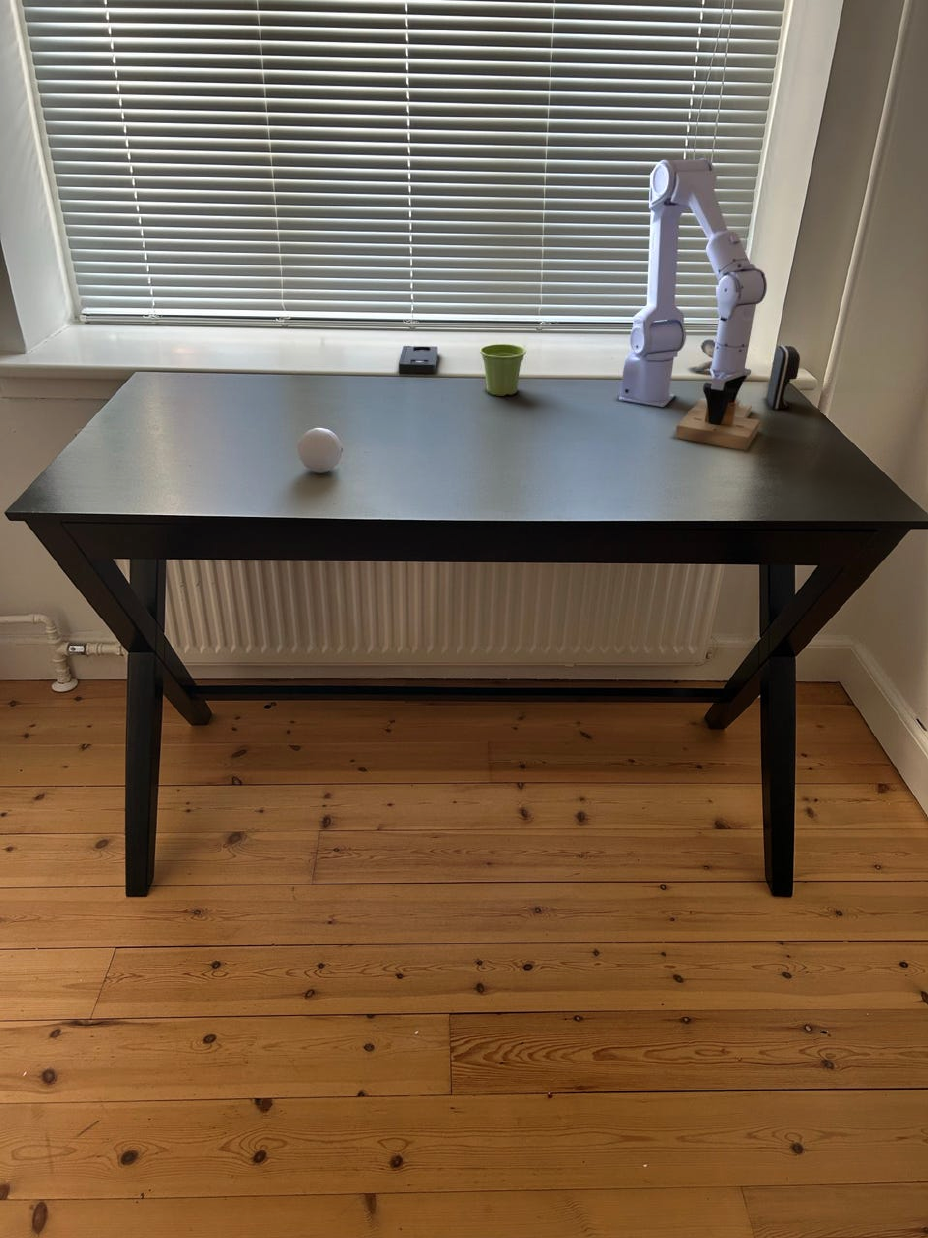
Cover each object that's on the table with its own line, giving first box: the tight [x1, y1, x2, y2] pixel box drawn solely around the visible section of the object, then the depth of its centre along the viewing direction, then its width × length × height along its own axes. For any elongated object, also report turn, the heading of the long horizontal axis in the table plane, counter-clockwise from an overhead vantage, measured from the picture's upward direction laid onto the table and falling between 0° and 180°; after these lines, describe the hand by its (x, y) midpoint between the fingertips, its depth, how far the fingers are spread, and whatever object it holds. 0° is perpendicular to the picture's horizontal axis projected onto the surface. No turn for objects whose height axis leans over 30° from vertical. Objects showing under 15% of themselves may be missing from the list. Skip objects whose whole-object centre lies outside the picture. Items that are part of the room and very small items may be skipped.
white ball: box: [297, 427, 344, 474], centre depth 148 cm, size 10×7×7 cm
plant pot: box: [479, 343, 527, 397], centre depth 182 cm, size 9×9×9 cm
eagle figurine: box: [691, 339, 716, 372], centre depth 195 cm, size 8×7×9 cm
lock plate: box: [674, 408, 761, 451], centre depth 163 cm, size 13×10×3 cm
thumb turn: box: [705, 402, 736, 426], centre depth 161 cm, size 5×1×4 cm, turn 63°
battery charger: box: [765, 345, 801, 410], centre depth 175 cm, size 7×4×11 cm, turn 174°
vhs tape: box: [398, 345, 438, 374], centre depth 200 cm, size 14×8×2 cm, turn 179°
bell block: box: [692, 397, 753, 418], centre depth 173 cm, size 10×8×3 cm
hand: (719, 417), depth 162 cm, fingers open, 7 cm apart
